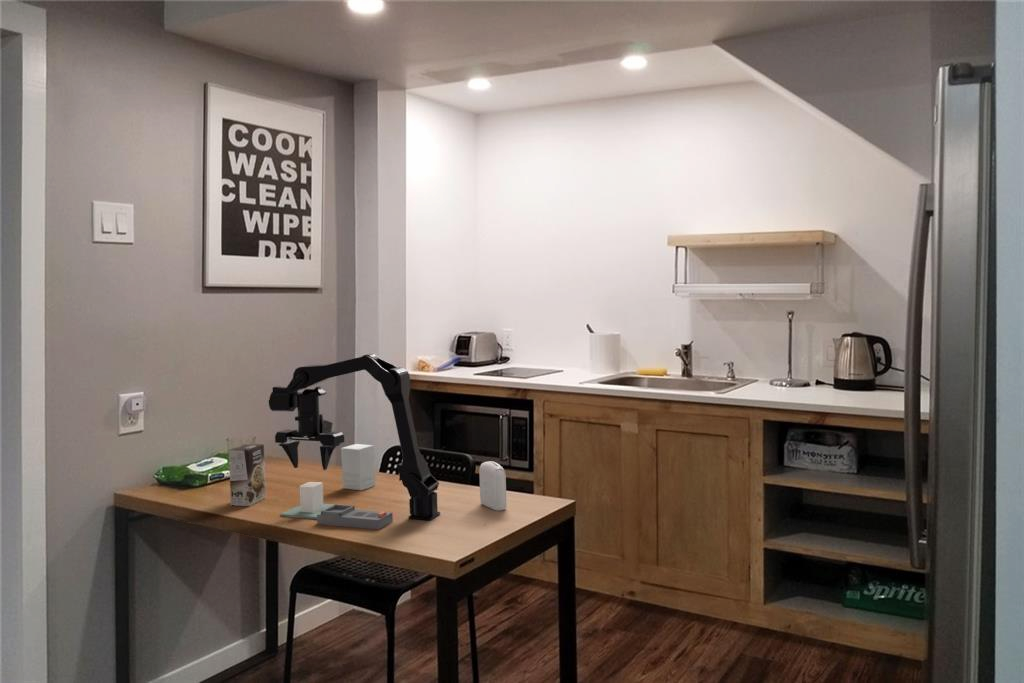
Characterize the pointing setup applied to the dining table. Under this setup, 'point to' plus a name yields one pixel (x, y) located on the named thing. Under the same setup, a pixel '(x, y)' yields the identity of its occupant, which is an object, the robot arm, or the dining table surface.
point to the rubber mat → (298, 514)
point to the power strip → (354, 517)
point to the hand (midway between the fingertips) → (310, 468)
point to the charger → (311, 497)
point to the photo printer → (492, 485)
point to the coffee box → (247, 474)
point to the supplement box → (358, 466)
